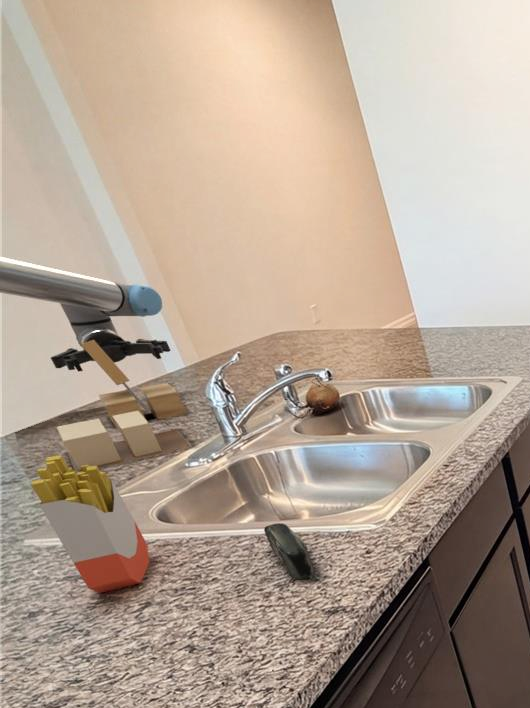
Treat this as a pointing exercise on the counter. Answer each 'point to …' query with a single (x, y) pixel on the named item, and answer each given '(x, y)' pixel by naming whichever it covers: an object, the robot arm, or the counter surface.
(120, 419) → the beige wooden block
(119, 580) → the french fries container
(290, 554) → the dark green zucchini
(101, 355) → the wooden handled screwdriver
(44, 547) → the counter surface
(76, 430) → the beige block
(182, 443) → the board
